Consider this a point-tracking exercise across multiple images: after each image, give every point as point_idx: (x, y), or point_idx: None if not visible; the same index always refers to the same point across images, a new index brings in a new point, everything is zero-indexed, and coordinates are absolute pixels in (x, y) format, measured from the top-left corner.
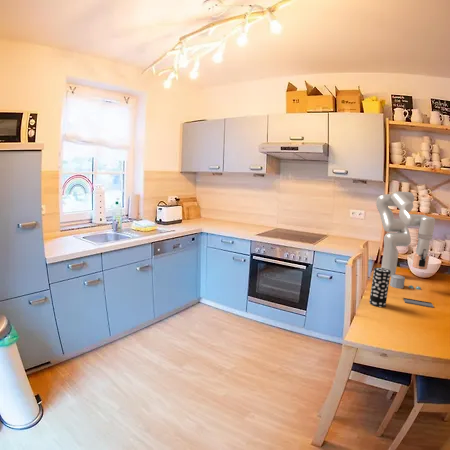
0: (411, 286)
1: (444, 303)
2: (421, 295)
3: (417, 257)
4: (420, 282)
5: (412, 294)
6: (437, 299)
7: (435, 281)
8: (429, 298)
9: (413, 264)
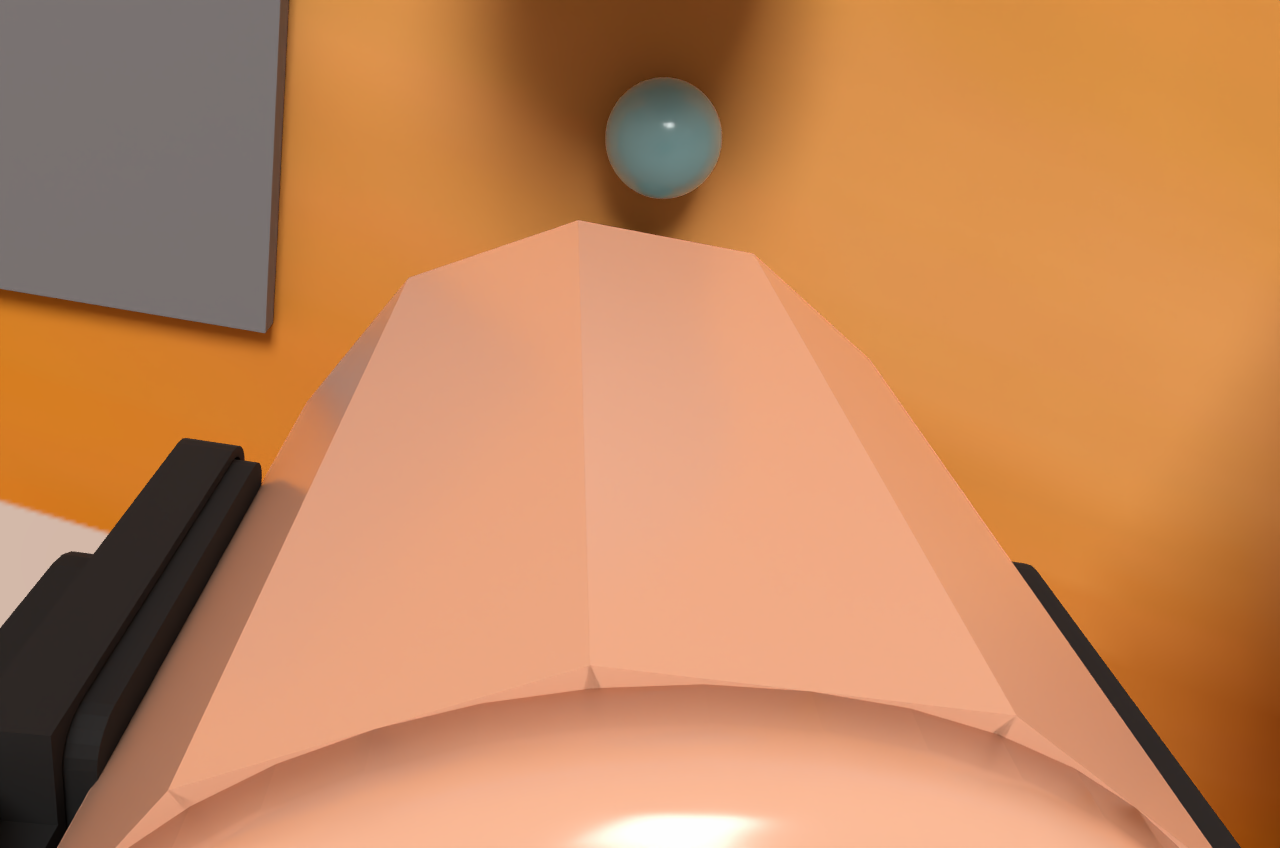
0: (632, 137)
1: (93, 516)
2: (366, 246)
3: (187, 745)
4: (1175, 507)
5: (343, 52)
6: (264, 473)
7: (1234, 750)
8: (246, 346)
9: (574, 267)
